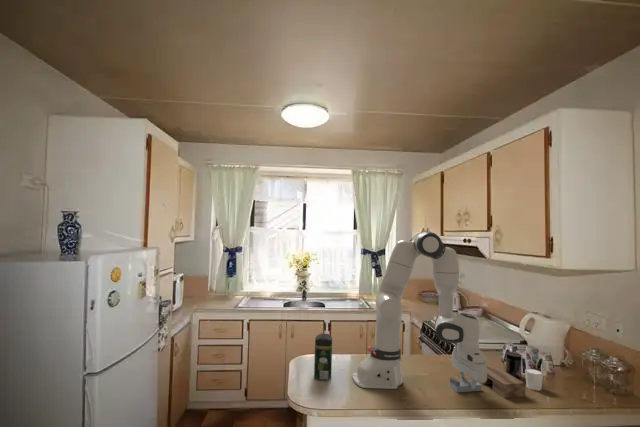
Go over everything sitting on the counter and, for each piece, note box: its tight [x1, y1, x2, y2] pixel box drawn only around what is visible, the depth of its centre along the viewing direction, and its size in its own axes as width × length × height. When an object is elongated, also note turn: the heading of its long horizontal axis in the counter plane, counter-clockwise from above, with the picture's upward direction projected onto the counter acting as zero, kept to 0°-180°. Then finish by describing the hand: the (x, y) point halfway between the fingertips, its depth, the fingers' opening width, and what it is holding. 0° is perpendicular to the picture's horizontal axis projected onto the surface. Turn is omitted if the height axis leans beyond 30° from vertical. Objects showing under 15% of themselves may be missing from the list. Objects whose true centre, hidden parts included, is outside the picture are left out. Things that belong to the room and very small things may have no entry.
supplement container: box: [505, 351, 523, 380], centre depth 167 cm, size 7×7×10 cm
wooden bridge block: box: [481, 364, 526, 399], centre depth 154 cm, size 10×20×6 cm, turn 12°
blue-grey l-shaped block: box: [449, 376, 483, 393], centre depth 151 cm, size 12×5×4 cm, turn 102°
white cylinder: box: [524, 368, 544, 391], centre depth 155 cm, size 7×7×7 cm
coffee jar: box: [313, 333, 333, 381], centre depth 159 cm, size 10×8×19 cm
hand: (467, 384), depth 151 cm, fingers closed on blue-grey l-shaped block, 5 cm apart
